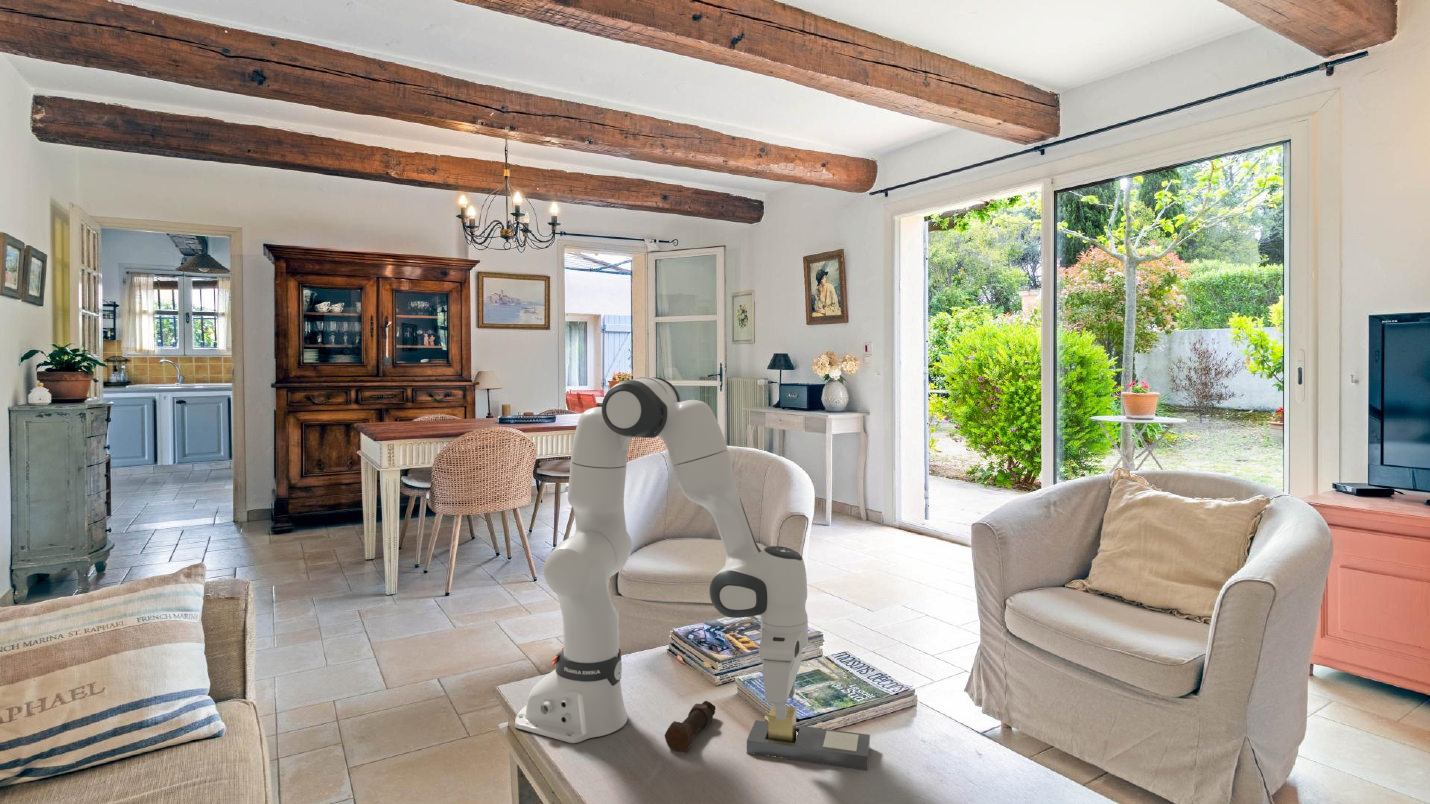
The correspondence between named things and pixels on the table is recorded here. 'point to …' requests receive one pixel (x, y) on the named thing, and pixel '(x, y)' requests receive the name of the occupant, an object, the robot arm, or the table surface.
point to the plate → (813, 746)
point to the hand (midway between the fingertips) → (785, 706)
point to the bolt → (689, 727)
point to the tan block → (782, 726)
